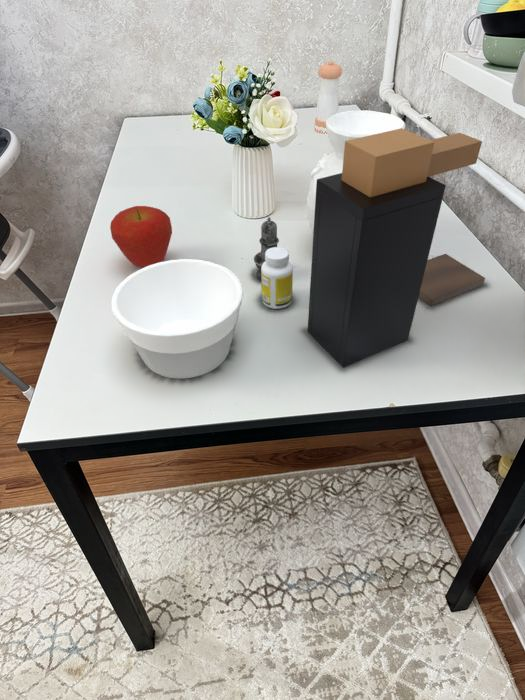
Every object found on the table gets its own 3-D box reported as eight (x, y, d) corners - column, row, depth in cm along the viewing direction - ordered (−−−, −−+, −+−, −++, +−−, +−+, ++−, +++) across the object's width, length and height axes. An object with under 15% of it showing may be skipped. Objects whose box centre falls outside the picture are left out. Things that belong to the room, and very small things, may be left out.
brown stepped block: (481, 166, 66) (493, 127, 63) (370, 197, 60) (376, 156, 56) (449, 152, 70) (458, 115, 67) (341, 180, 63) (344, 140, 60)
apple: (118, 283, 93) (104, 225, 85) (122, 253, 101) (109, 198, 93) (177, 277, 94) (168, 219, 86) (176, 249, 102) (168, 193, 94)
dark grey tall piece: (290, 271, 95) (291, 214, 87) (274, 286, 91) (274, 228, 83) (264, 263, 97) (263, 206, 89) (248, 277, 94) (245, 219, 85)
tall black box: (408, 340, 79) (446, 185, 62) (342, 368, 75) (364, 209, 57) (369, 307, 86) (393, 159, 68) (307, 331, 81) (316, 179, 64)
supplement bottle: (295, 295, 89) (297, 247, 82) (286, 312, 85) (288, 264, 79) (267, 289, 90) (266, 242, 84) (257, 306, 87) (256, 258, 80)
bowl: (246, 310, 86) (243, 256, 79) (245, 389, 72) (242, 333, 64) (136, 312, 86) (124, 259, 79) (114, 393, 72) (96, 337, 64)
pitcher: (393, 278, 92) (420, 143, 76) (297, 268, 96) (302, 135, 79) (396, 231, 106) (419, 107, 89) (311, 223, 109) (318, 102, 92)
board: (483, 284, 91) (485, 278, 90) (430, 306, 86) (432, 299, 85) (443, 260, 97) (445, 253, 96) (392, 278, 93) (394, 271, 92)
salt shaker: (327, 124, 158) (332, 57, 146) (342, 131, 154) (348, 61, 141) (309, 129, 156) (313, 60, 143) (324, 135, 151) (328, 65, 138)
